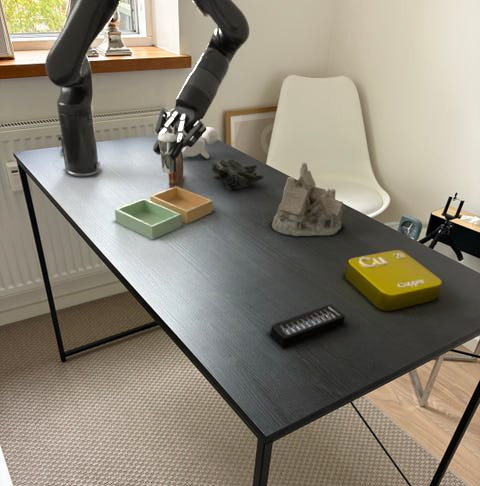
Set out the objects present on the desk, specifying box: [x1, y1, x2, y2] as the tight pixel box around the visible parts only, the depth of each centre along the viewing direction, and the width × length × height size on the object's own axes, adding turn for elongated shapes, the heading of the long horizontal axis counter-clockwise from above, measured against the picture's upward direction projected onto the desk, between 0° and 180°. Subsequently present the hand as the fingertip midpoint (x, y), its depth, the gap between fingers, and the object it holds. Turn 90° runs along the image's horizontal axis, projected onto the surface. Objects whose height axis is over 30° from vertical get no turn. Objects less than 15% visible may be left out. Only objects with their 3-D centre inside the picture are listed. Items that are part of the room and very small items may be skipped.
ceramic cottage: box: [271, 162, 346, 237], centre depth 122 cm, size 16×16×15 cm
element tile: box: [344, 249, 443, 312], centre depth 104 cm, size 15×15×5 cm
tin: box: [167, 151, 184, 189], centre depth 142 cm, size 15×3×8 cm, turn 179°
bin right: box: [149, 186, 213, 224], centre depth 129 cm, size 13×10×3 cm
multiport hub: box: [270, 303, 346, 349], centre depth 91 cm, size 4×14×2 cm, turn 122°
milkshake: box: [157, 127, 178, 174], centre depth 117 cm, size 4×5×10 cm
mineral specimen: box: [210, 158, 264, 191], centre depth 143 cm, size 15×13×10 cm
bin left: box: [114, 198, 182, 240], centre depth 121 cm, size 13×10×3 cm
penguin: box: [182, 126, 219, 160], centre depth 162 cm, size 9×8×15 cm
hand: (163, 155), depth 116 cm, fingers closed on milkshake, 4 cm apart
